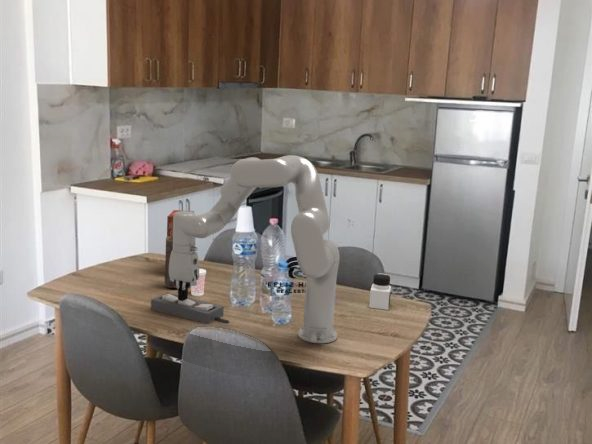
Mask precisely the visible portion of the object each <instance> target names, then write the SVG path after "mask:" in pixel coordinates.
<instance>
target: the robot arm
mask: <svg viewBox="0 0 592 444" xmlns="http://www.w3.org/2000/svg"><path fill="white" fill-rule="evenodd" d="M289 184H293V185H294V191H295V192H294V193H295V200H296V204H297V208H298V209H297V210H298V213H297V214H296V215H295V216H294V217H293V219H292V221H291V226H290V233H291V238H292V244H293V248H294V252H295V255H296V260H297V264H298V266H299V267H298V268H299V269H300V271H301V273H303V275H305V276H306V279H305V291H304V307H303V308H304V310H303V324H302V327H301V328H299V329H298V331H297V336H298V337H299V339H301V340H302V341H305V342H308V343H312V344H328V343H333V342H334V341H336V340H337V339H338V332H337V331H336V330H334V321H335V320H334V318H335V317H334V316H335V302H336V292H337V290H336V289H337V278H338V271H339V265H340V257H341V256H340V251H339V248H338V246H337V245H336V243H334V242H333V241H332V240H329V239H324V235H325V234H326V233H327V232H328V230H329V229H330V217H329V214H328V209H327V205H326V201H325V196H324V192H323V188H322V185H321V184H322V183H321V179H320V175H319V173H318V170H317V169H316V167H315V165H314V164H313V163H312V162H311V161H309V160H308V159H306V158H305V157H304V156H299V155H295V154H292V155H289V154H288V155H283V156H280V157H277V158H268V159H260V158H259V157H253V156H252V157H246V158H243V159H240V160H238V161H236V162H235V163H233V164H232V167H231V169H230V177H229V178H228V179H227V180H226V181H225V182H224V183H223V185H222V186H221V187H220V189H219V192H220V195H221V196H220V198H219V199H218V201H217V203H216V204H214V205H213V207H212V208H211V209H210V210H209V211H207V212H205V213H203V214H199V215H196V214H195V212H194V213H193V212H190V211H191V210H181V211H179V212H176V213H175V214H174V216H173V250H172V251H171V255H170V261H169V277H170V280H171V281H173V282H174V283H175V284H176V287H177V288H176V289H177V295H178V300H181V301H183V300H186V299H187V297H188V296H189V289H191V286H195V285H197V281H196V280H198V279H199V269H200V259H199V260H198V258H199V255H198V250H199V248H198V247H197V246H196V238H197V239H206V238H208V237H210V236H212V235H214V234H216V233H219V232H220V231H221V230H223V229H224V228H225V227H226V225H227V224H228V223H229V222H230V221H232V219H233V218H234V217H235V215H236V214H237V212H238V211H239V210H240V207H241V206H242V204H244V202H245V201H246V200H247V198H248V197H249V196H251V194H252V193H254V191H255V190H256V189H257V188H280V187H284V186H286V185H289ZM188 298H189V297H188Z"/></svg>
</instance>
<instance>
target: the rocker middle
mask: <svg viewBox="0 0 592 444" xmlns="http://www.w3.org/2000/svg"><path fill="white" fill-rule="evenodd" d="M178 304H182V305H186V306H193V305H195V304H196V302H194V301H191V300H189V299H186V300H183V301H181V300H178Z"/></svg>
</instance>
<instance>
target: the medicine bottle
mask: <svg viewBox="0 0 592 444" xmlns="http://www.w3.org/2000/svg"><path fill="white" fill-rule="evenodd" d="M390 284H391V277H390V275H388V274H385V273H376V274H374V275H373V280H372V284H371V288H370V292H369V305H368V306H369V308H370V309H377V310H385V311H389V310H390V305H391V297H392V296H391V293H392V292H391V291H392V286H391V285H390Z"/></svg>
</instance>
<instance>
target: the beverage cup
mask: <svg viewBox="0 0 592 444" xmlns="http://www.w3.org/2000/svg"><path fill="white" fill-rule="evenodd" d="M198 260H199V261H200V257H198ZM206 274H207V270H206V269H204V268H199V279H198V280H196V281H197V285H195V286H190V291H191V295H192V296H195V297H200V296H204V292H205V281H206Z"/></svg>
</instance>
